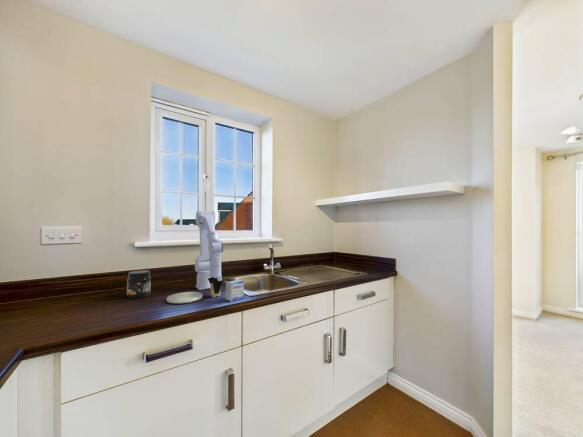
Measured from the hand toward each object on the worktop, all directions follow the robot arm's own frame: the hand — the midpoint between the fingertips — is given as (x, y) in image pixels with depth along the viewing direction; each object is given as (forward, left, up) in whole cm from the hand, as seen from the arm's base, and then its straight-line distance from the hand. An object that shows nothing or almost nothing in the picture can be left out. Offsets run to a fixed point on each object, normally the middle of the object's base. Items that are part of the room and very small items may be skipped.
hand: (215, 292), depth 125 cm
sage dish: (-2, -14, -2) cm, 14 cm away
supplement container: (-23, -32, -2) cm, 39 cm away
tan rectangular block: (0, 0, -2) cm, 2 cm away
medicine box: (+11, +6, -2) cm, 13 cm away
